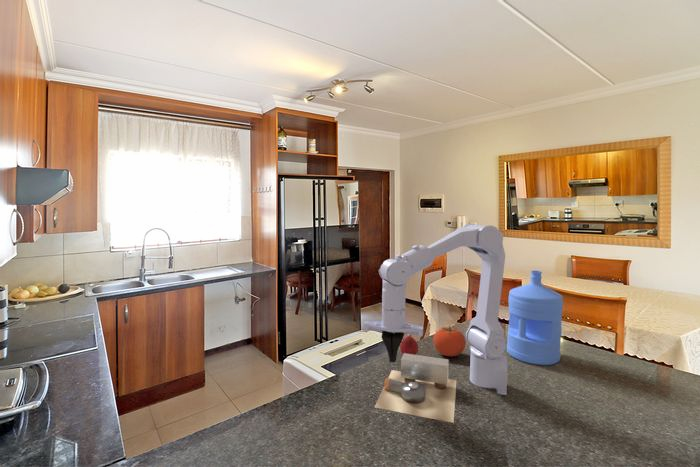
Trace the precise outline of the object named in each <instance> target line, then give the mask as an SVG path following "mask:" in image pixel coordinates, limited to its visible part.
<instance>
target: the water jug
mask: <svg viewBox="0 0 700 467" xmlns="http://www.w3.org/2000/svg"><path fill="white" fill-rule="evenodd" d="M542 273H543V272H542V271H540V270H530V276H529V278H530V282H529V283H527V284H524V285H519V286H517V287H514V288H511V289H510V290H509V294H508V299H507V300H508V312H509V317H508V329H507V335H506V336H507V339H506V341H507V342H506V352H507V353H508V354H509V356H511V357H513V358H514V359H516V360H517V361H521V362H523V363H527V364H532V365H537V366H550V365H554V364H557V363H559V361H560V359H561V341H562V340H561V339H562V338H561V337H562V330H563V329H562V321H563V320H562V319H563V309H564V302H563V299H564V298H563V296H562V294H560V293H558V292H557V291H555V290H553V289H551V288H549V287H547V286H546V285H543V284H542V278H543V277H542Z"/></svg>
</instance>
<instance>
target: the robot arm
mask: <svg viewBox="0 0 700 467" xmlns="http://www.w3.org/2000/svg"><path fill="white" fill-rule="evenodd" d="M503 242H504V234H503V233H502V232H501V231H500V230H499V229H498V227H496V226H494V225H490V224H489V225H483V224H474V223H467V224H464V226H461V227H458V228H456V230H455V229H454V230H453V231H452V232H450V233H449V234H447V235H445V236H444V237H442V238H440V239H439V240H437V241H435V242H434V243H432V244H429V245H428V246H425V245H423V244H420V245H418V244H415V245H413V246H411V249H410V250H408V251H406V252H404V253H402V254H397V255H395V259H394V258H388V259H386V260H384V261H382V262H383V263H382V264H381V265H380V268H379V269H378V274H379V276H380V278H381V279H382V289H381V290H382V291H381V292H382V294H381V301H382V302H381V320H380V321H377V320H376V321H374V320H373V321H369V320H368V321H367V320H366V321H365V322H364V324H363V325H364V326H363V327H364V328H363V330H364V332H369V331H372V332H381V340H382V341H383V344H384V346H385V349H386V351H387V354H388V358H389V363H393V364H394V363H396V361H397V355H398V352H399V349H400V344H401V342H402V340H403V339H404V338H405V337H404V336H405V335H408V334H410V335H411V336H418V337H423V335H424V326H421V325H416V324H411V323H406V284H407V283H408V282H409V279H410V278H411V277H412V276H414V275H416V274H417V273H419V272H421V271H424V270H425V269H427V268H429V267H431V266H432V265H433V263H434V260H435V259H436V258H438V257H441V256H443V255H444V254H447V253H449V252H451V251H453V250H457V249H458V248H460V247H465V248H468V249H470V250H471V251H474V252H475V254H476V255H478V256H479V258H480V259H481V261H482V262H481V270H480V271H481V272H480V277H479V278H480V280H479V287H478V288H479V290H478V296H477V306H476V315H475V317H473V318H471V320H470V321H469V322H470V323H469V326H468V329H467V330H466V332H465V341H466V343H467V344H468V345H469V349H470V354H469V355H470V362H469V363H470V366H469V381H470V382H471V383H472V384H473V385H475V386H476V387H479V388H484V389H496V394H497V395H501V396H507V395H508V393H507V392H508V391H507V390H508V389H507V388H508V381H509V380H508V358H507V356H506V355H504V353H505V351H506V350H507V342H506V340H505V330H504V328H503V327H502V325H501V323H500V321H499V313H500V306H501V297H502V289H503V278H504V270H505V262H506V251H505V249H504V245H503Z"/></svg>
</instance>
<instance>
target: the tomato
mask: <svg viewBox="0 0 700 467" xmlns="http://www.w3.org/2000/svg"><path fill="white" fill-rule="evenodd" d="M432 339H433V346H434V347H435V349H436V351H437V352H438V353H439V354H441V355H443V356H446V357H456V356H459V355H460V354H461V353H463V351H464V350H465V348H466V345H467V344H466V343H467V341H466V336H464V334H463V332H461V330H459V329H458V328H456V327H452V326H451V325H449V326H446V327H445V326H443V327H440V328H439V329H438V330H437V331H435V333H434V334H433V338H432Z"/></svg>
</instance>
